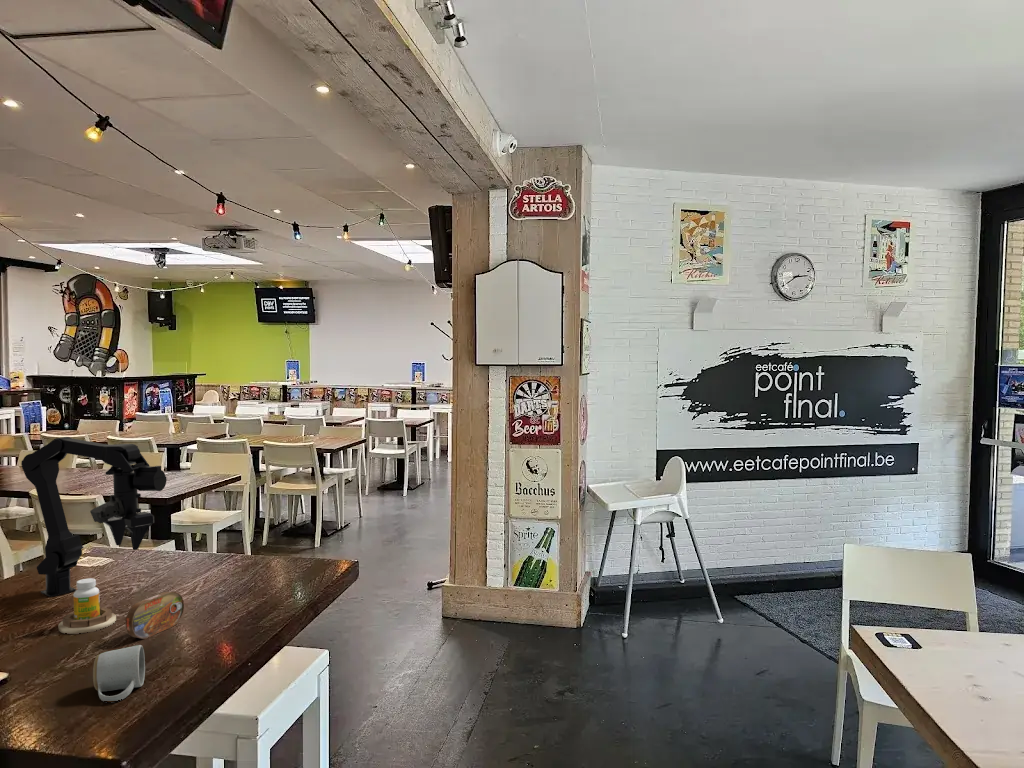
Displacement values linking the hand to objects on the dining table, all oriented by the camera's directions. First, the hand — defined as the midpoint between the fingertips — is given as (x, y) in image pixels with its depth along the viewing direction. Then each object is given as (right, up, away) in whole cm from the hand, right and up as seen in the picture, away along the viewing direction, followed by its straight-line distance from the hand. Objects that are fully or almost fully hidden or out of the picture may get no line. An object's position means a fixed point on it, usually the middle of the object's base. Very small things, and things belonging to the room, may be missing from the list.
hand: (126, 547), depth 194 cm
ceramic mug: (+30, -15, -57) cm, 66 cm away
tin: (+21, -14, -27) cm, 37 cm away
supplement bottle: (+2, -13, -22) cm, 26 cm away
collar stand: (+3, -14, -22) cm, 26 cm away
